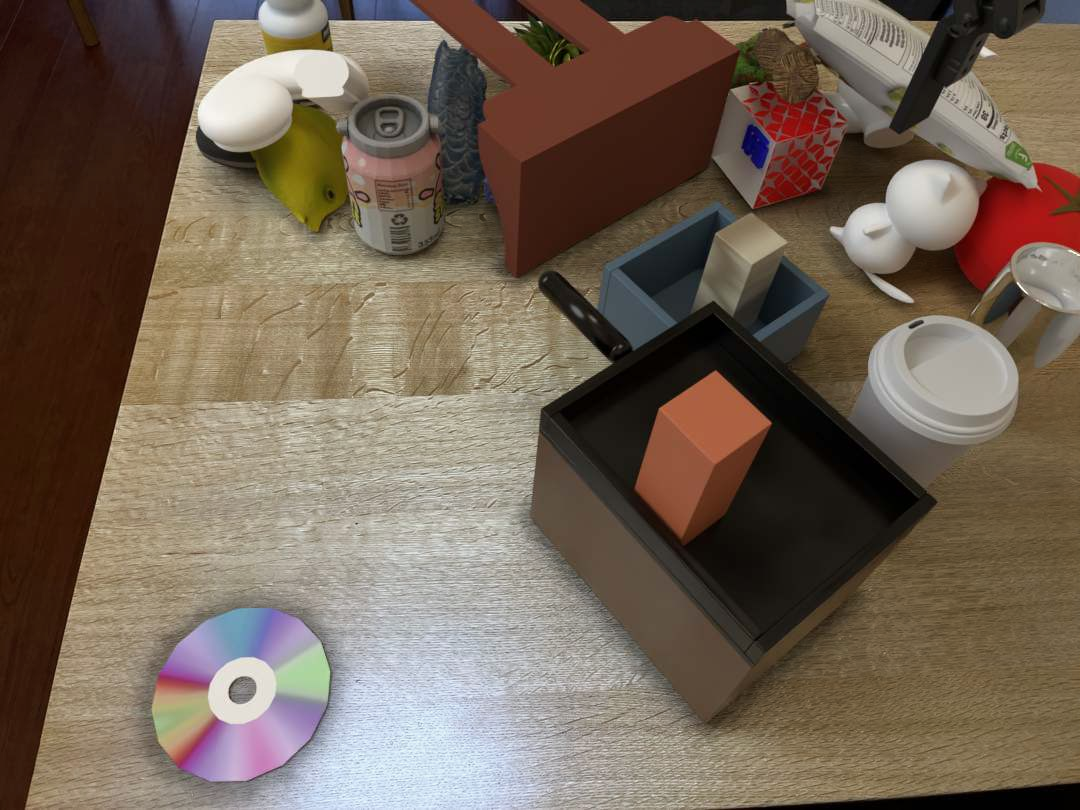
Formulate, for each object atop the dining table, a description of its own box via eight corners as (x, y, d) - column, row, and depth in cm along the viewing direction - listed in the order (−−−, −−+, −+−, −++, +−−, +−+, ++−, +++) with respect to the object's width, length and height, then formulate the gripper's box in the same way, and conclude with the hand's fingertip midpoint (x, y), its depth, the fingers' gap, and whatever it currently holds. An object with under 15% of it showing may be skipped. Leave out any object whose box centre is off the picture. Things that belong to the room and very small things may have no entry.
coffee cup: (904, 421, 71) (994, 300, 59) (950, 527, 66) (1059, 419, 54) (792, 431, 70) (859, 310, 58) (829, 540, 65) (912, 433, 52)
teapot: (1002, 94, 78) (996, -1, 80) (776, 137, 88) (775, 52, 89) (1003, 139, 87) (998, 52, 88) (797, 173, 96) (795, 95, 98)
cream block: (754, 324, 75) (788, 242, 67) (722, 346, 74) (752, 264, 65) (722, 295, 77) (751, 211, 69) (689, 316, 75) (715, 232, 67)
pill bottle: (332, 111, 88) (313, 4, 78) (268, 106, 88) (241, -3, 78) (344, 72, 92) (328, -36, 82) (283, 66, 92) (259, -43, 82)
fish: (284, 228, 76) (385, 217, 82) (226, 68, 77) (328, 70, 84) (274, 243, 78) (373, 231, 84) (218, 87, 80) (319, 87, 86)
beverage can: (354, 188, 82) (336, 78, 72) (444, 186, 83) (439, 76, 73) (352, 262, 77) (333, 154, 67) (448, 258, 78) (443, 151, 68)
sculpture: (228, 82, 81) (193, -1, 75) (387, 70, 79) (365, -16, 73) (194, 166, 74) (152, 82, 67) (369, 154, 72) (342, 67, 66)
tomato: (915, 205, 82) (993, 123, 73) (1025, 221, 86) (1112, 144, 77) (962, 334, 75) (1054, 260, 67) (1079, 345, 79) (1182, 277, 70)
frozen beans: (761, 47, 67) (1014, 223, 70) (811, -24, 64) (1075, 165, 67) (765, -8, 83) (970, 137, 87) (806, -66, 80) (1018, 87, 83)
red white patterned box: (821, 189, 86) (849, 123, 79) (752, 209, 84) (775, 143, 77) (777, 138, 90) (800, 71, 83) (711, 156, 88) (729, 88, 81)
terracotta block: (725, 514, 51) (772, 422, 43) (676, 552, 50) (715, 464, 42) (679, 466, 53) (715, 369, 45) (630, 501, 52) (658, 408, 43)
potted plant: (629, 174, 80) (475, 111, 78) (609, 169, 93) (475, 115, 90) (682, 43, 77) (524, -27, 75) (654, 55, 90) (517, -5, 87)
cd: (254, 819, 52) (255, 819, 52) (365, 658, 58) (365, 659, 58) (112, 722, 55) (113, 723, 55) (231, 578, 61) (231, 578, 61)
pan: (850, 595, 63) (939, 501, 50) (704, 724, 57) (765, 653, 45) (601, 347, 74) (625, 220, 62) (459, 434, 68) (454, 314, 56)
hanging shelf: (708, 167, 86) (519, 17, 98) (740, 49, 75) (523, -103, 87) (516, 278, 77) (333, 98, 89) (521, 162, 66) (312, -25, 78)
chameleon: (924, -11, 91) (780, 6, 100) (818, 30, 70) (648, 46, 79) (922, 59, 93) (781, 69, 103) (819, 117, 73) (655, 123, 82)
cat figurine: (855, 221, 84) (970, 143, 76) (905, 318, 82) (1030, 249, 73) (807, 217, 79) (925, 133, 70) (858, 322, 76) (988, 247, 68)
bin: (801, 352, 75) (831, 294, 68) (695, 426, 70) (716, 371, 63) (699, 262, 80) (717, 200, 73) (593, 326, 75) (603, 265, 69)
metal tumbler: (1016, 394, 73) (1125, 273, 61) (983, 449, 70) (1091, 332, 58) (939, 351, 76) (1030, 224, 63) (904, 401, 72) (992, 279, 60)
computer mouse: (252, 75, 86) (257, 112, 89) (176, 134, 78) (184, 172, 81) (316, 96, 85) (319, 132, 88) (245, 158, 77) (251, 196, 80)
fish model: (490, 69, 94) (490, 26, 89) (500, 210, 82) (501, 168, 78) (427, 70, 93) (424, 27, 89) (429, 212, 82) (425, 170, 77)
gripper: (704, -474, 39) (636, -17, 57) (1233, -281, 29) (949, 206, 46) (817, -491, 42) (719, -51, 59) (1335, -320, 31) (1031, 152, 49)
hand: (819, 62), depth 53 cm, fingers open, 13 cm apart
